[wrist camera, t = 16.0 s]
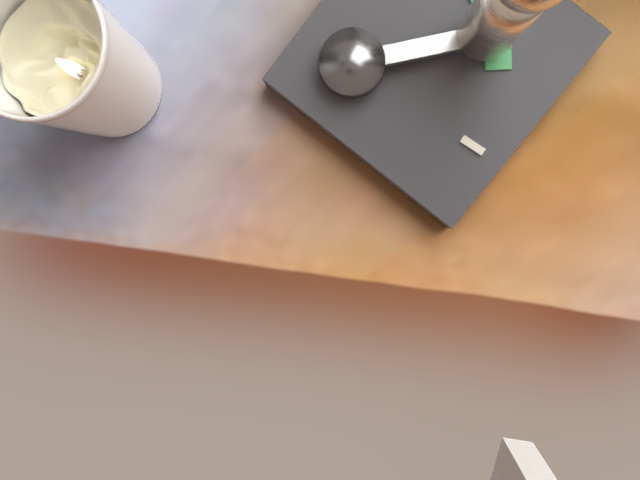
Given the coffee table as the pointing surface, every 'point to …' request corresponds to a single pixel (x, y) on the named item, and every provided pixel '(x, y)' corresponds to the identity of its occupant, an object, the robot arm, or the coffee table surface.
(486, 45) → the shiny silver rounded post
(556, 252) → the coffee table surface
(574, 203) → the coffee table surface
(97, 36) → the candle holder
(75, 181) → the coffee table surface
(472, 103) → the dial board
